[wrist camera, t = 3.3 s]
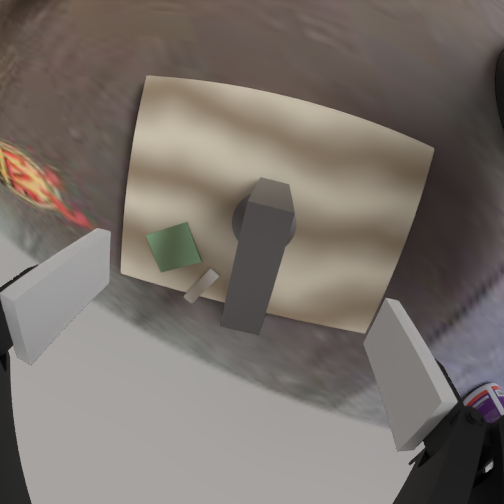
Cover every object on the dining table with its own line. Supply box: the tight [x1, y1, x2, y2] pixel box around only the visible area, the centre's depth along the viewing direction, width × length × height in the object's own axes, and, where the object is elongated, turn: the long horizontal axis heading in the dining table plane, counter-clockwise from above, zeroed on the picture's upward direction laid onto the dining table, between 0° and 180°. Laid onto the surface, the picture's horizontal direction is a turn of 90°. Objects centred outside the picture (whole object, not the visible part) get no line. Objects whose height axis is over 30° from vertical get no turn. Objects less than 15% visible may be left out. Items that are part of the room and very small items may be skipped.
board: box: [121, 76, 435, 333], centre depth 24 cm, size 20×24×2 cm
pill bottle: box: [463, 383, 504, 469], centre depth 25 cm, size 8×8×14 cm
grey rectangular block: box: [220, 177, 295, 335], centre depth 20 cm, size 3×12×9 cm, turn 167°
